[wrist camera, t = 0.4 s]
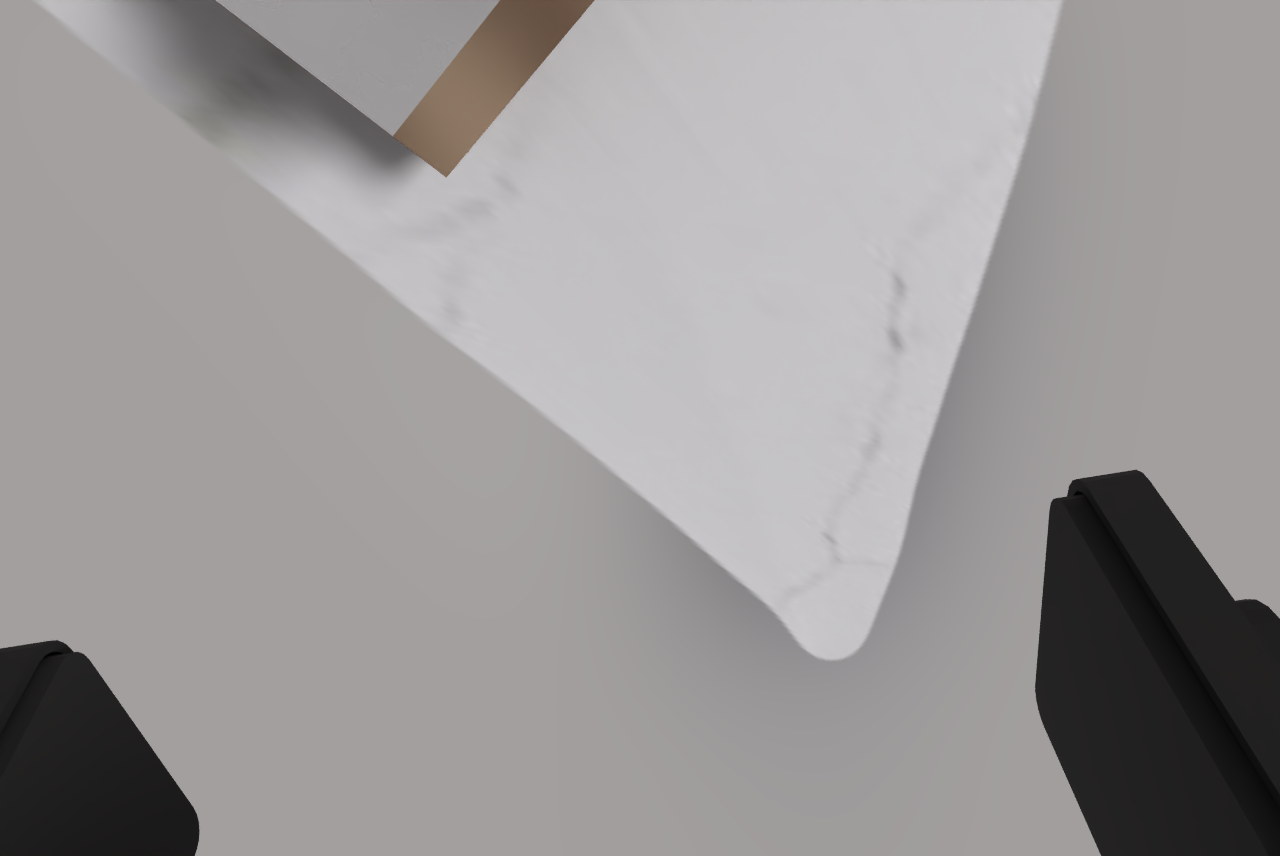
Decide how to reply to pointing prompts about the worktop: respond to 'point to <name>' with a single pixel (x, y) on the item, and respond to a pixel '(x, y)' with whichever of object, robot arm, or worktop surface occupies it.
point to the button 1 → (369, 45)
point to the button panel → (485, 77)
